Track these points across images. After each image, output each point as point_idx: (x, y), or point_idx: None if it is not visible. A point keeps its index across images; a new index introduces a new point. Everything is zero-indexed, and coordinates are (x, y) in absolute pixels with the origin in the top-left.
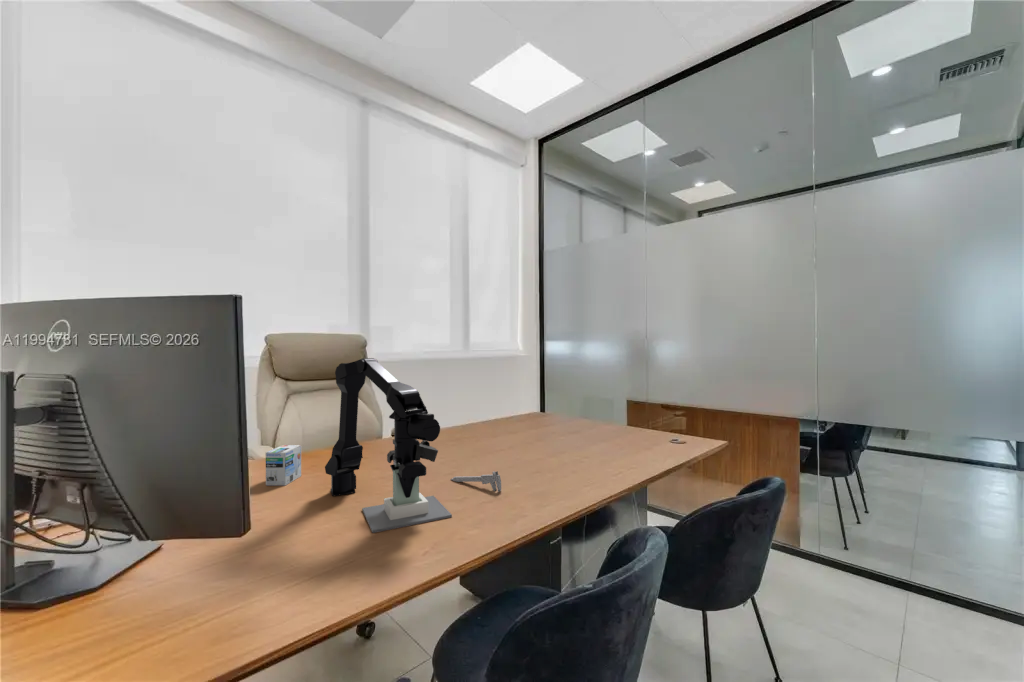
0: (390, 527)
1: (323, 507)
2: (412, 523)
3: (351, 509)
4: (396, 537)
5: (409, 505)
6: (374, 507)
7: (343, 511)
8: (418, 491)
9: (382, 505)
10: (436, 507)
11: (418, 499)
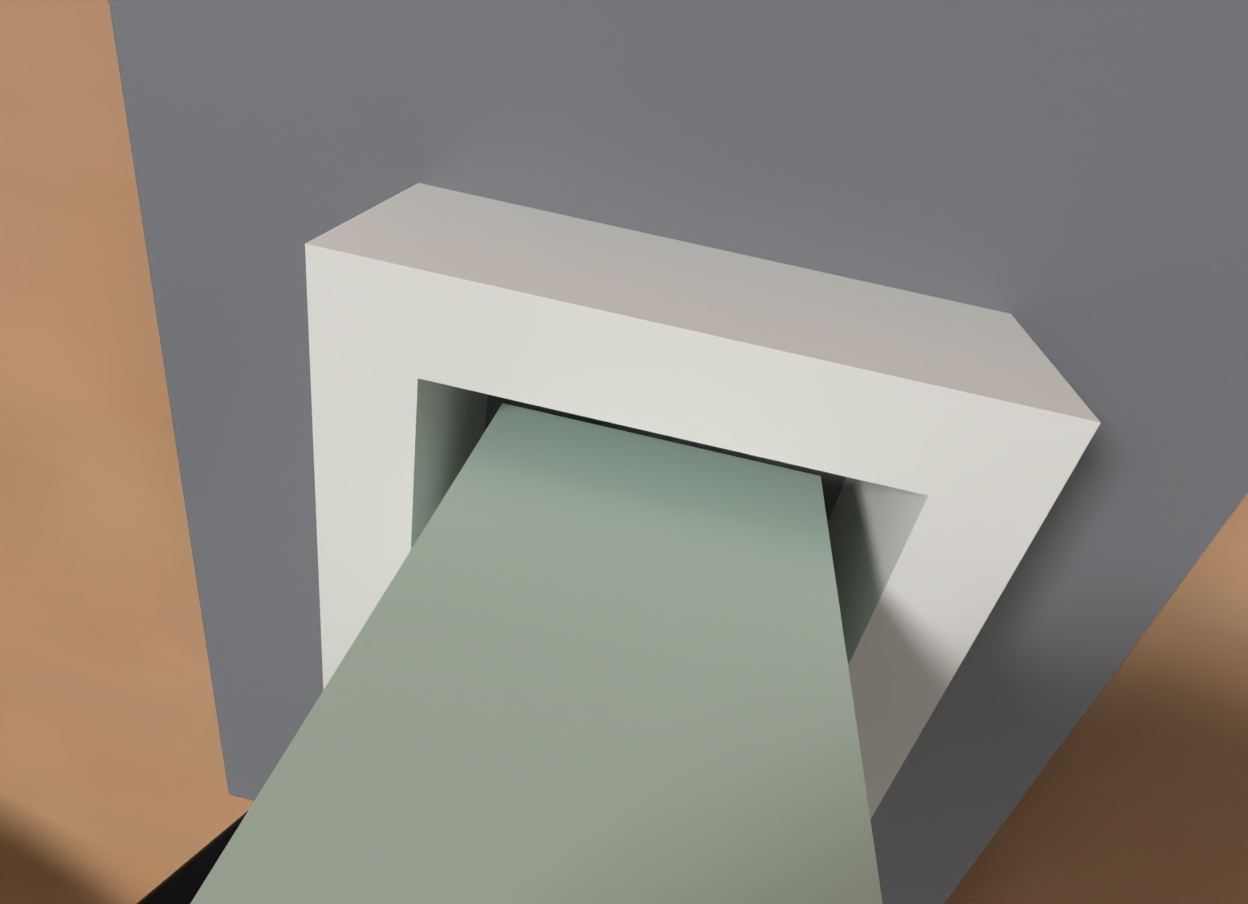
0: (978, 854)
1: (41, 899)
2: (1112, 662)
3: (176, 811)
4: (1221, 879)
5: (903, 744)
6: (270, 722)
7: None
8: (848, 715)
9: (243, 644)
10: (894, 3)
11: (826, 559)
